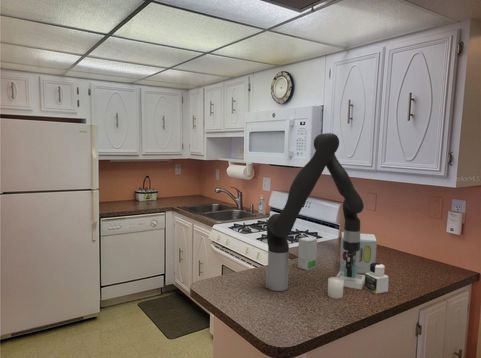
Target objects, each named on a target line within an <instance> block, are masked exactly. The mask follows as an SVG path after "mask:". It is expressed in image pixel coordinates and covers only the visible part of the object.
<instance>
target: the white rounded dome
mask: <svg viewBox="0 0 481 358" xmlns="http://www.w3.org/2000/svg"><path fill="white" fill-rule="evenodd" d="M343 285H344V280H343V279H341V278H338V277H336V276H331V277H328V278H327V296H328V297H329V298H331V299H342V298H343V297H344V286H343Z"/></svg>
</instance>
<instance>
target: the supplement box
mask: <svg viewBox="0 0 481 358" xmlns="http://www.w3.org/2000/svg"><path fill="white" fill-rule="evenodd" d="M343 237H344V231H341V237H340V238H341V239H340V251H339V252H340V255H339V272H340V271H341V272H344V266H345V265H346V254H347V252H348V251H347V250H344V249H343ZM377 242H378V240H377V238H376V236H375V234H372V233H361V232H360V250H359V251H356V262H355V265H357V274H360V275H365V273H370V264H371V263H377V260H376V258H377V245H378V243H377Z"/></svg>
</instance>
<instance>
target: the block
mask: <svg viewBox="0 0 481 358" xmlns="http://www.w3.org/2000/svg"><path fill="white" fill-rule="evenodd" d="M348 266H350V265H348ZM352 268H353V269H352V277H349V278H356V276H357V274H358V273H357V265H355V264H353V267H352ZM343 272H344V277H347V269H346V265H345V266H344V271H343Z"/></svg>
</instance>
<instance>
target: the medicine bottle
mask: <svg viewBox="0 0 481 358" xmlns="http://www.w3.org/2000/svg"><path fill="white" fill-rule="evenodd" d="M385 268H386V266H385V265H384V264H382V263H380V262H375V263H371V264H370V273H365V274H364V275H365V282H364V289H366V290H367V291H369V292H371V293H373V294H382V293H388V291H389V276H388V275H387V274H385Z"/></svg>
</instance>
